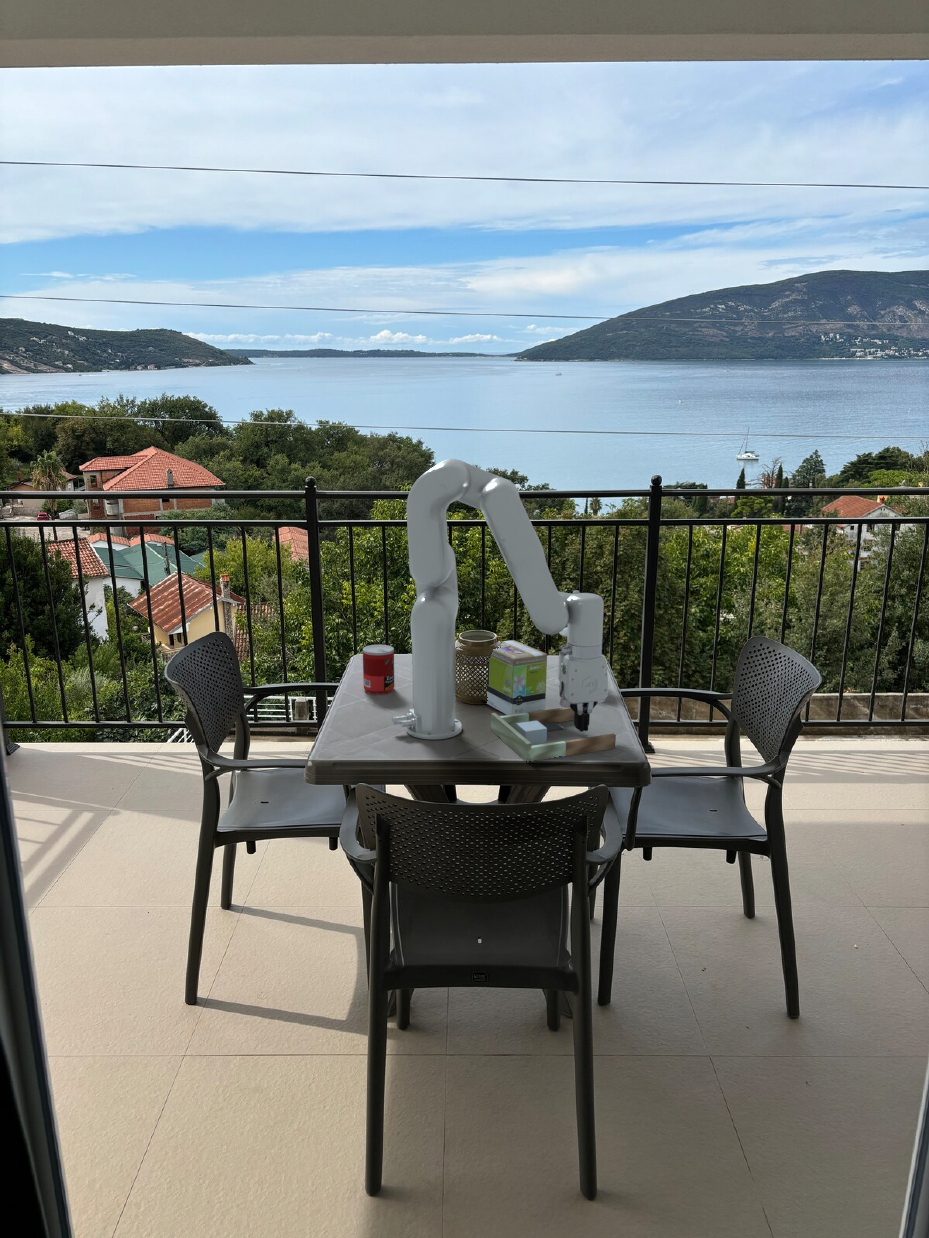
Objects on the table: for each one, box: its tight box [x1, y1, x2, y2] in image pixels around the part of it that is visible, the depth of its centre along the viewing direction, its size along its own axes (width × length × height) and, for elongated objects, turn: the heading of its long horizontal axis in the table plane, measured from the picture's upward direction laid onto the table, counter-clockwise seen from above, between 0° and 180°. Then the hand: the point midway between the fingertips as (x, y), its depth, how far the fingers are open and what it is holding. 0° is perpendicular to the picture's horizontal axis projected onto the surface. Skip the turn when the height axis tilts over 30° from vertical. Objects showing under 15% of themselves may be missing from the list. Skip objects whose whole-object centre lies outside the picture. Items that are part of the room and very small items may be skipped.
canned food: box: [362, 644, 395, 695], centre depth 222 cm, size 8×8×11 cm
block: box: [515, 721, 548, 746], centre depth 190 cm, size 5×5×4 cm
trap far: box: [542, 722, 564, 733], centre depth 198 cm, size 6×4×1 cm
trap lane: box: [490, 707, 617, 763], centre depth 192 cm, size 21×19×4 cm
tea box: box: [486, 639, 548, 715], centre depth 210 cm, size 15×10×15 cm, turn 30°
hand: (581, 728), depth 194 cm, fingers closed
